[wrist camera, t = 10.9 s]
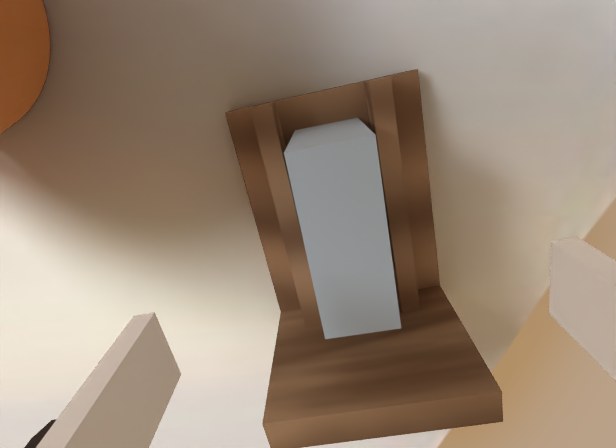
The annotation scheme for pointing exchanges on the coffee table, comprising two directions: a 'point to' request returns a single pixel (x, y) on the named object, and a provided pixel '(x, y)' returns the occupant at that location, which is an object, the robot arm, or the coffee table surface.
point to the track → (408, 278)
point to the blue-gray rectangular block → (344, 226)
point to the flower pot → (22, 57)
